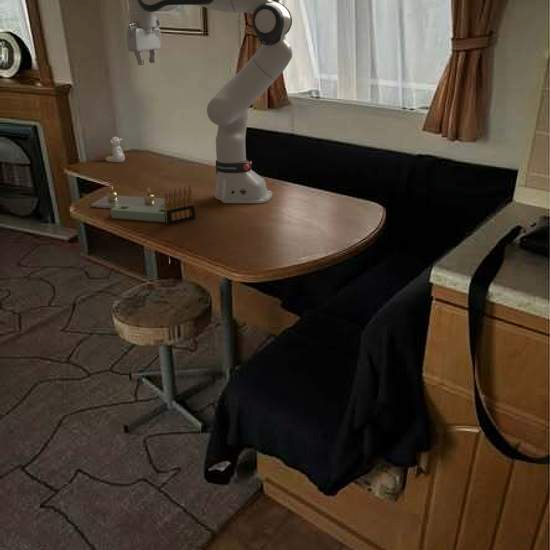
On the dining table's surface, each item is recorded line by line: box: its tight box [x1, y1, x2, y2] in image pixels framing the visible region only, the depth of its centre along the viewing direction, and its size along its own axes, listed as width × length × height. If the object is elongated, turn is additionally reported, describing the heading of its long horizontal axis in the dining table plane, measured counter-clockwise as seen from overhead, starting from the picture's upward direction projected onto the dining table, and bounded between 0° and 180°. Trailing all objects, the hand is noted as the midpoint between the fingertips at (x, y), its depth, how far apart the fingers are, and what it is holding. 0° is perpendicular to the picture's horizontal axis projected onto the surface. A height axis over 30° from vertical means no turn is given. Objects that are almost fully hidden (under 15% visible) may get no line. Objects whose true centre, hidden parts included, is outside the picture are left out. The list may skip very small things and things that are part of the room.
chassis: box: [91, 185, 165, 210], centre depth 201 cm, size 26×12×7 cm, turn 77°
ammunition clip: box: [163, 184, 196, 226], centre depth 183 cm, size 11×2×12 cm, turn 125°
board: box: [110, 204, 165, 223], centre depth 189 cm, size 22×6×3 cm, turn 77°
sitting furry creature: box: [105, 136, 126, 163], centre depth 261 cm, size 10×9×12 cm
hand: (146, 63), depth 196 cm, fingers open, 8 cm apart
